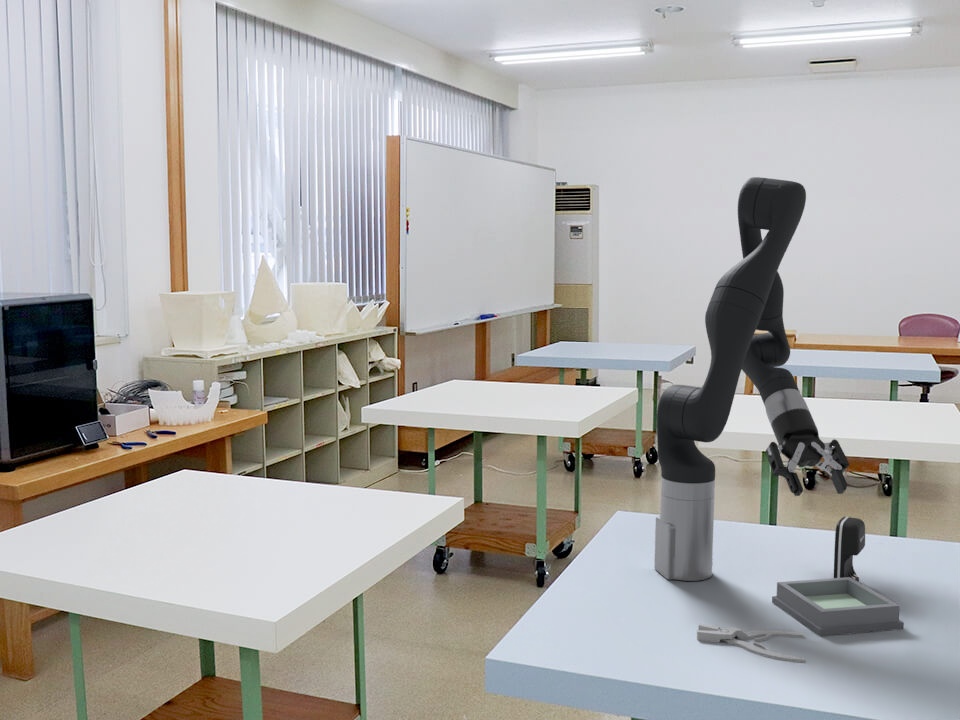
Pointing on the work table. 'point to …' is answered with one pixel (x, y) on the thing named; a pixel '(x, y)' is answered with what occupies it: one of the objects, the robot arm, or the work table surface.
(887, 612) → the tray
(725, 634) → the pliers
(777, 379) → the robot arm
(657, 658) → the work table surface
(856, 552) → the battery charger
